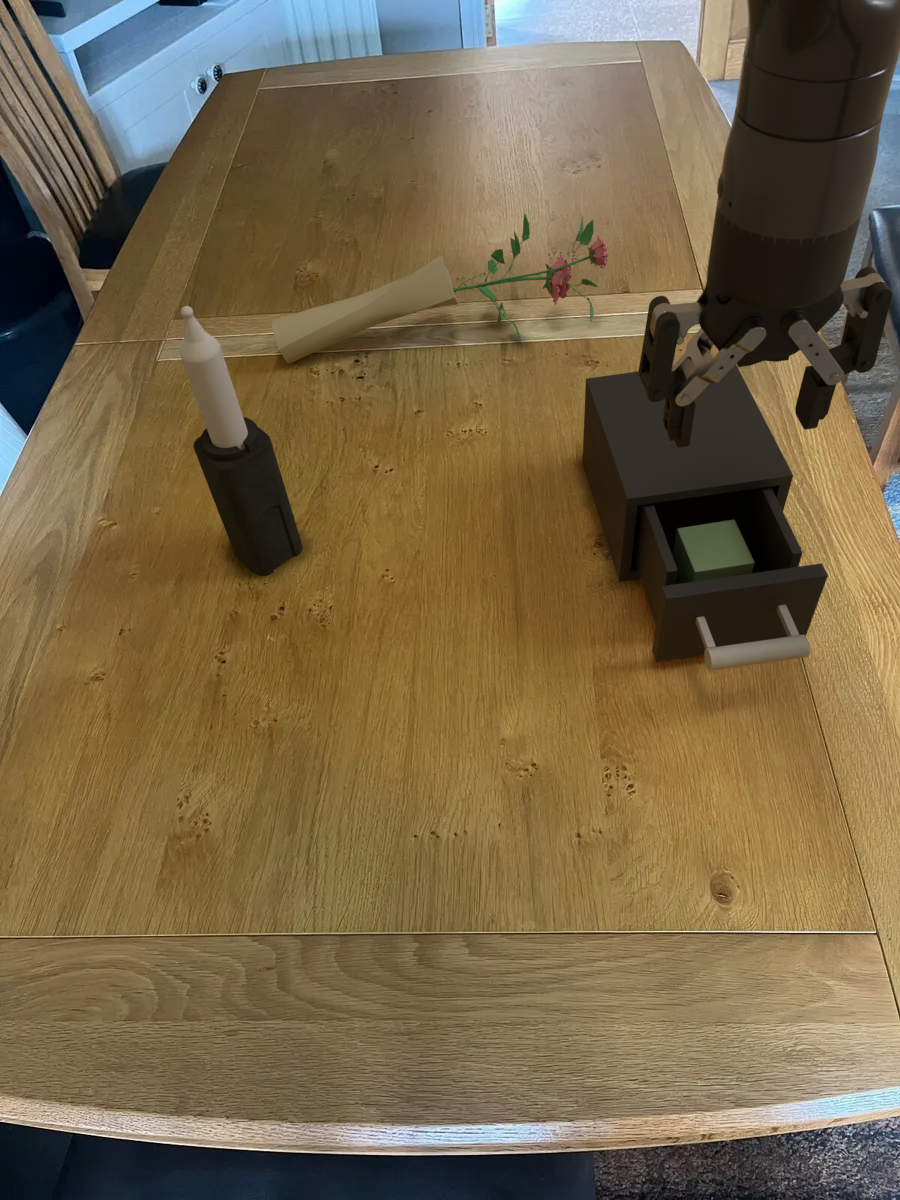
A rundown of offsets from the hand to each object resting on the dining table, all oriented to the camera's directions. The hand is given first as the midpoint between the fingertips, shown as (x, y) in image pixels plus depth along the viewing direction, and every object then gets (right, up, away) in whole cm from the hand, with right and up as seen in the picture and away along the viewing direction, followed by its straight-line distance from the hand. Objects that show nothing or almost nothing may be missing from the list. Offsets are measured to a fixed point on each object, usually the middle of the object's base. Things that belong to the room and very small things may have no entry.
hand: (742, 430), depth 62 cm
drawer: (+1, -12, +12) cm, 17 cm away
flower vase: (-20, +17, +39) cm, 47 cm away
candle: (-36, -7, +21) cm, 42 cm away
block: (+1, -10, +12) cm, 16 cm away
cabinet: (0, -3, +21) cm, 21 cm away
